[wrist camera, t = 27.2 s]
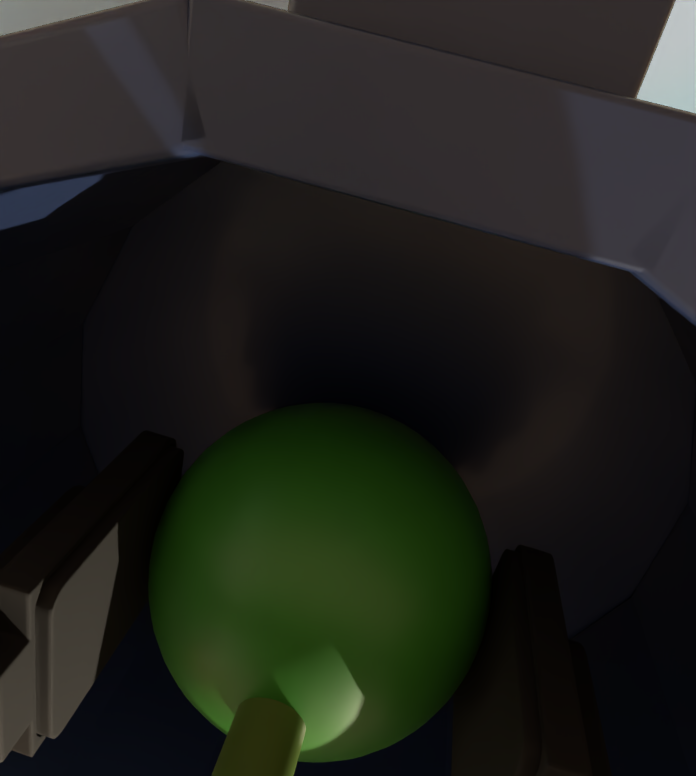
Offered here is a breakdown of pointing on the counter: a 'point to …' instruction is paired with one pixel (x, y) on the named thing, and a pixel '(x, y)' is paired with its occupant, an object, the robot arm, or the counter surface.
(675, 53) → the counter surface
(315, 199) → the pan
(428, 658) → the pepper
